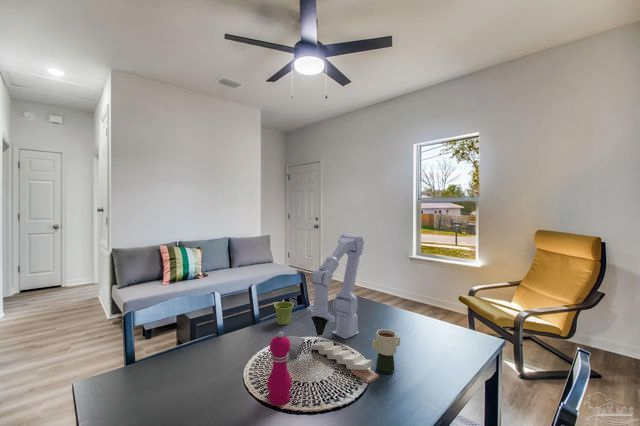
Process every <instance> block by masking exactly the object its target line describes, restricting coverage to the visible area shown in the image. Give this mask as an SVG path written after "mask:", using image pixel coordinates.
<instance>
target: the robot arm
mask: <svg viewBox="0 0 640 426" xmlns="http://www.w3.org/2000/svg"><path fill="white" fill-rule="evenodd" d="M337 243H338V245H337V246H336V248H335V249H334V251H333V253H332V254H331V256H327V257H326V258H325V260H324V261H323V263H322V264H321V266H320V267H319V268H318V269H316V270H314V271H313V272H312V274H311V276H310V282H311V284H312V289H313V306H311V305H309V306H307V307H306V313H310V314H311V320H312V322H313V324H314V327H315V333H316V335H317V336H322V335H324V331H325V329H326V325H327V323H328V322H329V323H335V322H336V329H335V330H333V331H332V332H331V333H332V334H334V335H335V336H337V337H340V338H342V339H345V340H346V339H348V338H350V337H353V336H355V335H358V334H360V331H359V330H358V329H359V324H358V323H359V318H358V315H357V312H358V307H359V306H358V298H357V296H356V295H355V293H354V289H355V285H356V284H355V283H356V278H357V272H358V267H359V262H360V256H362V255H363V250H364V247H365V246H364V244H365V242H364V238H363V237H362V235H354V234H353V235H352V234H345V233H343V234H341V235H340V237H339V238H338V242H337ZM345 254H346V255H347V261H346V267H345V271H344V275H343V276H344V277H343V282H342V287H341V290H340V291H339V292H336V294H335V297H334V300H333V302H332V308H333V310H334V311H335V314H336V316H335V315H333V314H332V313H331V312H329V285H330V284H331V283H332V281H333V280H332V279H333V276H334V273H335V271H336V270H337V268H338V267H339V261H340V259H342V257H343V256H344V255H345Z"/></svg>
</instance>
